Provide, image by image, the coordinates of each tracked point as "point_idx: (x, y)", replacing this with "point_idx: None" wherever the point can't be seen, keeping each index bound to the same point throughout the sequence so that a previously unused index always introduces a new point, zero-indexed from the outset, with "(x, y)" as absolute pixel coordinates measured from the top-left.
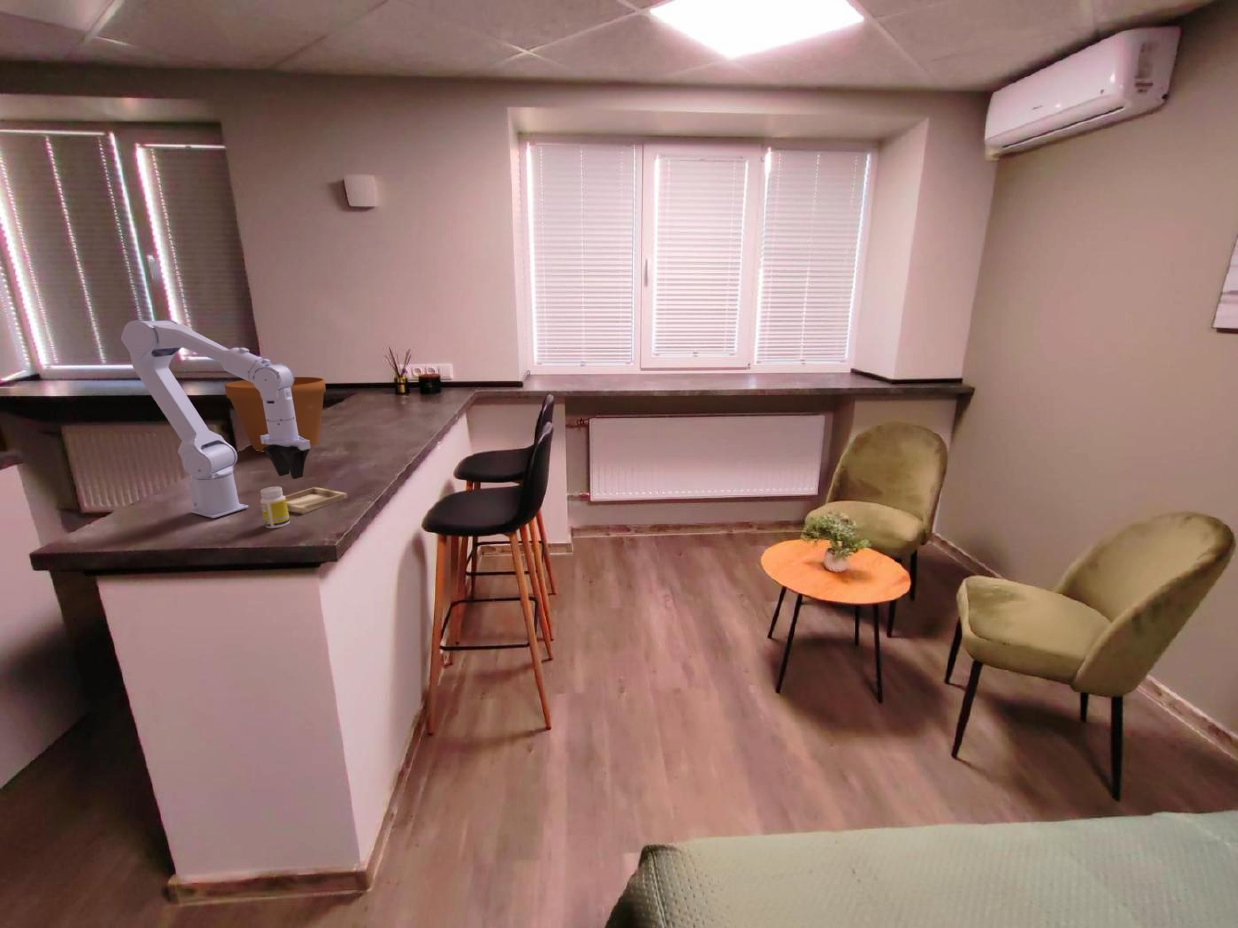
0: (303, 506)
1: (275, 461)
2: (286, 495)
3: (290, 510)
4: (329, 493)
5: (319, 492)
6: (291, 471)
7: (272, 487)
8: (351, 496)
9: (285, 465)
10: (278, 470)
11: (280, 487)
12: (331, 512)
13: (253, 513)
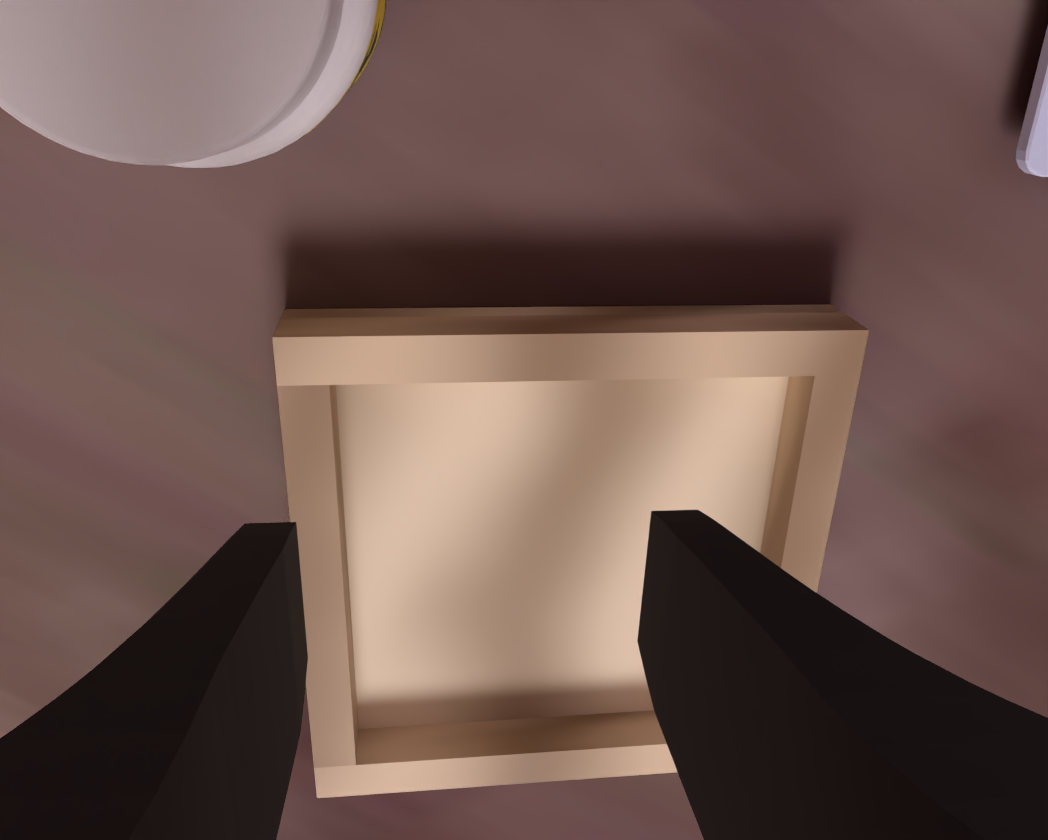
0: (325, 384)
1: (785, 681)
2: (831, 513)
3: (498, 315)
4: (523, 738)
5: None
6: (195, 588)
7: (215, 48)
8: (384, 802)
9: (698, 738)
10: (694, 560)
11: (58, 125)
12: (117, 493)
13: (863, 114)
